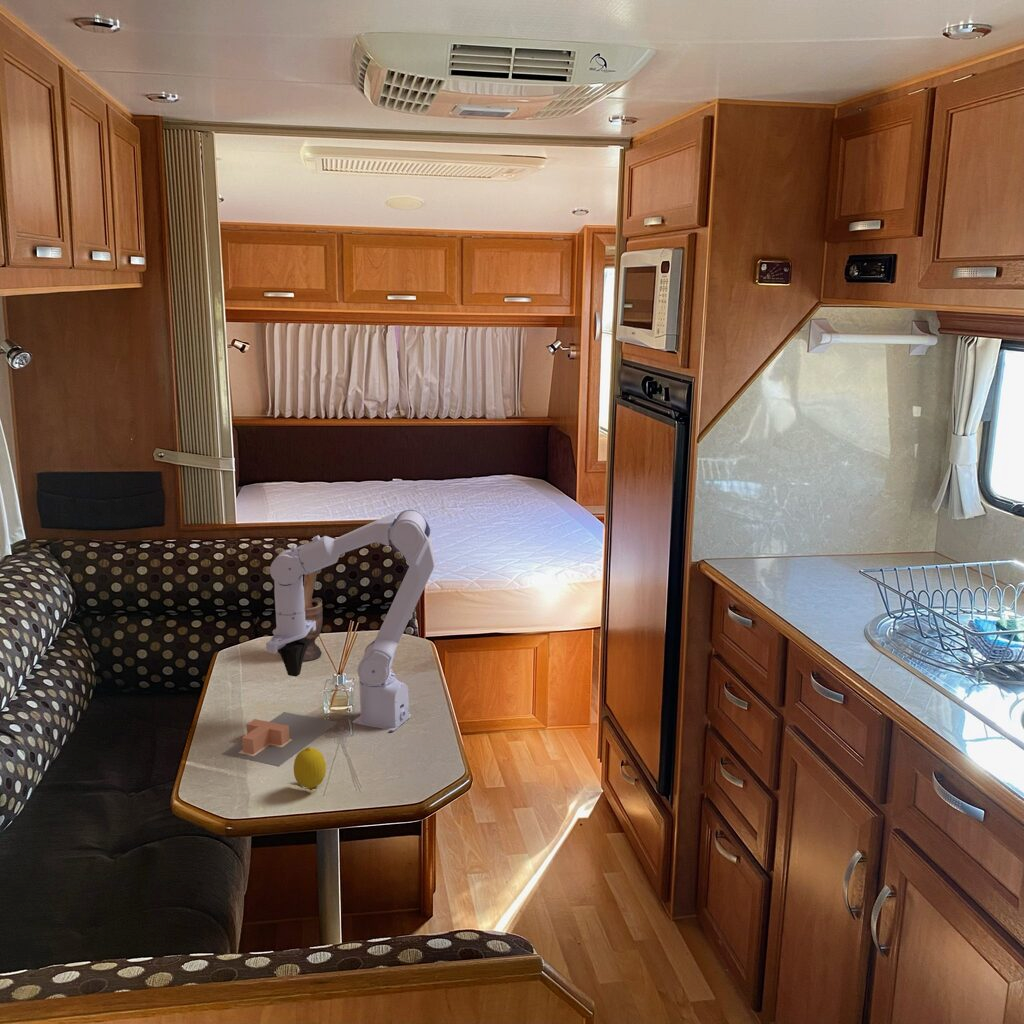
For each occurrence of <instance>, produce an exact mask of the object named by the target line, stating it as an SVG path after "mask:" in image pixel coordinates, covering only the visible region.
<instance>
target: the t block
mask: <svg viewBox="0 0 1024 1024" xmlns="http://www.w3.org/2000/svg"><path fill="white" fill-rule="evenodd" d="M241 740H242V745H243V752H245V753H250V754H255V753H257V752H258V751H259V750H261V749H262V748H264V747H265V746H267V745H268V744H269V743H272V744H277V745H284V744H285V743H286V742H288V741H289V740H290V738H289V726H287V725H282V724H277V723H272V722H270V721H266V720H260V719H258V718H257V719H256V718H254V719H252V720H250V722H248V723H246V734H244V735H243V736H242V737H241Z"/></svg>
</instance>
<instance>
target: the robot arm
mask: <svg viewBox="0 0 1024 1024" xmlns="http://www.w3.org/2000/svg"><path fill="white" fill-rule="evenodd" d="M374 543H379V544H382V545H384V546H387V547H390V545H391V543H392V545H393V546H394V547H395V548H396V549H397V550H398V551H399V552H400V553H401V555H403V556H404V558H405V561H406V562H407V565H408V569H407V570H406V573H405V574H404V577H403V580H402V581H401V583H400V585H399V588H398V590H397V592H396V595H395V597H394V599H393V601H392V603H391V605H390V607H389V610H388V611H387V612H386V613H387V614H386V616H385V618H384V620H383V622H382V624H381V626H380V629H379V630H378V632H377V634H376V637H375V639H374V640H373V641H371V642H370V643H368V645H367V646H366V647H365V650H364V653H363V656H362V658H361V660H360V662H359V663H358V666H357V674H358V677H359V678H358V679H359V682H358V683H359V703H360V704H359V708H360V709H359V710H360V715H359V716H358V717H356V718H355V719H354V720H352V723H353V724H359V725H363V726H368V727H373V728H380V729H384V730H389V732H395V731H396V730H397V729H398V728H400V727H401V725H402V724H404V723H405V722H406V721H407V720H409V718H411V717H412V714H411V713H410V700H409V699H410V693H409V687H408V685H407V684H406V683H405V682H402V681H400V680H398V679H397V678H396V674H395V673H394V671H393V669H392V665H393V663H394V661H395V658H396V653H395V652H396V649H397V647H398V645H399V642H400V641H401V638H402V636H403V634H404V632H405V630H406V627H407V625H408V623H409V621H410V619H411V617H412V615H413V613H414V612H415V611H414V610H415V608H416V606H417V604H418V602H419V601H420V598H421V596H422V594H423V591H424V590H425V588H426V585H427V584H428V581H429V579H430V578H431V577H430V576H431V575H432V573H433V571H434V567H435V565H436V556H435V551H434V550H435V549H434V543H433V537H432V526H430V524H429V522H428V520H427V519H426V516H425V515H424V514H423V513H422V512H421V511H419V510H417V509H414V508H413V509H412V508H410V509H409V508H407V509H404V510H403V511H401V512H399V514H398V512H395V513H392V514H389V515H386V516H384V517H381V518H378V519H376V520H374V521H372V522H370V523H368V524H365V525H363V526H361V527H358V528H356V529H354V530H351V531H350V532H348V533H345V534H342V535H340V536H338V537H336V538H334V537H330V536H328V535H323V536H322V537H320V535H319V534H318V535H316V536H313V538H311V541H310V542H307V543H304V544H302V545H299V546H297V545H293V546H291V547H290V548H289V549H286V550H282V552H279V554H278V555H277V556H275V559H273V561H272V562H271V564H270V567H269V573H270V576H271V578H272V580H273V581H274V591H273V592H274V606H275V607H274V608H275V609H274V610H275V623H276V628H273V630H272V634H273V635H272V637H271V638H270V640H269V641H267V642H266V643H265V648H266V649H265V650H266V651H265V652H266V653H269V654H277V653H278V655H279V656H280V658H281V660H282V662H283V664H284V667H285V671H286V674H287V675H288V676H290V677H298V676H299V675H300V674H301V672H302V666H303V662H304V661H303V658H304V654H305V652H306V649H307V647H308V645H309V644H310V641H309V639H307V638H304V637H306V636H307V634H308V633H309V631H315V630H316V621H312V620H305V601H304V576H303V575H305V574H310V573H312V572H315V571H316V572H317V571H319V570H322V569H325V568H326V567H329V566H332V565H334V564H336V563H338V561H339V558H340V555H342V554H345V553H348V552H350V551H353V550H356V549H359V548H362V547H365V546H367V545H371V544H374Z"/></svg>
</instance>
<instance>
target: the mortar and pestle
mask: <svg viewBox="0 0 1024 1024" xmlns="http://www.w3.org/2000/svg"><path fill="white" fill-rule="evenodd" d="M317 575H318V574H317V571H315V572H312V573H310V574H304V576H303V587H304V601H305V620H312V621H316V630H315V631H309V633H308V634H307V636H306V637H304V638H307V639H309V641H310V644H309V645H308V647H307V649H306V652H305V654H304V658H303V662H305V661H311V660H316V659H318V658H320V657H321V656H322V650H321V647H319V645H317V644H316V640H317V638H318V637H319V636H320V635H321V633H322V632H321V631H322V628H323V620H324V618H323V611H324V610H323V602H322V601H321V600H318V599H313V593H314V588H315V585H316V582H317Z"/></svg>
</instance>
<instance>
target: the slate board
mask: <svg viewBox="0 0 1024 1024" xmlns="http://www.w3.org/2000/svg"><path fill="white" fill-rule="evenodd" d="M269 722H272V723H277V724H282V725H287V726H289V738H290V740H289V741H288V742H286V743H285V744H284V745H277V744H272V743H269V744H268V745H267V746H265V747H264V748H262V749H261V750H259V751H258V752H257V753H255V754H250V753H245V752H243V745H242V739H241V740H239V742H237V743H235V744H234V745H232V746H231V747H229V748H228V749H226V750H225V751H223V752H222V753H221V755H225V756H228V757H233V758H239V759H243V760H248V761H252V762H258V763H263V764H266V765H270V766H276V767H280V766H282V765H284V763H286V762H287V761H288V760H290V759H291V758H293V756H295V755H297V754H298V753H299V752H300V751H302V750H303V749H305V748H307V747H308V745H310V744H311V743H312V742H314V741H316V739H318V738H319V737H321V736H322V735H323V734H324V733H326V732H327V731H329V730H330V729H331V728H333V727H334V726H336V725H337V724H338V723H339V722H338V721H335V720H328V719H323V718H319V717H314V716H308V715H302V714H297V713H291V712H287V711H282V713H280V714H279V715H277V716H276V717H273V718H272V719H271V720H269Z"/></svg>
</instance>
